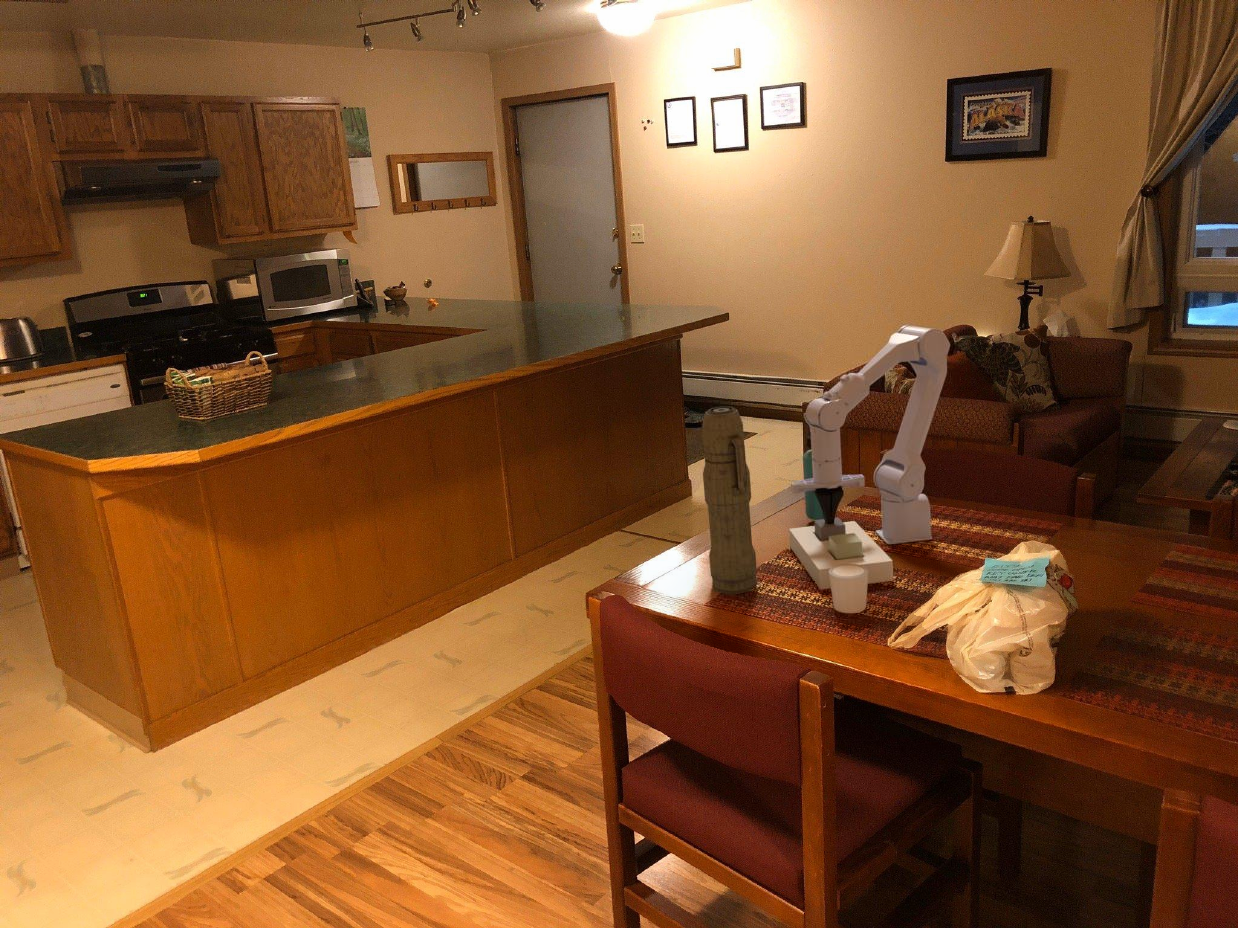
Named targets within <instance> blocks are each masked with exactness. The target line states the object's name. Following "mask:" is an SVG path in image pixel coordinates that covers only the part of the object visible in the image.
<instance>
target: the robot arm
mask: <svg viewBox="0 0 1238 928" xmlns="http://www.w3.org/2000/svg"><path fill="white" fill-rule="evenodd" d="M950 347H951V343H950V341H949V339H948V337H947V336H946V333H944V331H943V330H941V329H939V328H935V327H933V328H929V327H924V326H923V327H921V326H915V325H912V324H906V325H902V326H901V327H900V328H899V329H898V330H897V331H896V332H895V333H892V334H891V335H890V337H889V340H888V342H887V343H886V344H885V346H883V348H881V349H880V351H878V353H877V354H875V355H874V356H873V358H871V359H870V360H869V362H867V363H866V364H865V366H863V368H861V369H860V370H859V372H857V373H854V372H850V373H848V374H843V375H841V376H840V377H839V380H840V381H838V382H837V383H836V384H835V385H834V386H833V387H832V388H830V389H829V390H828V391H825V392H824V393H823V394H822V395H823V396H822V397H818V398H815V399H813V400H811V401H810V402H809V404H807V407H806V410H805V412H804V413H803V419H804V421H805V422H806V423H807V424H808V426H809V433H810V436H811V447H810V448H811V449H812V468H813V478H810V479H806V480H804V479H802V480H797V481H791V482H790V491H791V493H792V494H794V495H795V494H796V495H797V494H799V493H805V492H806V491H813V492H814V494H815V496H816V497H817V499H818V501H819V504H820V506H821V509H822V511H823V515H824V519H825V522H826V523H827V524H834V520H835V518H836V515H837V511H838V507H839V506H840V503H841V501H842V498H843V497H844V494H845V492H844V489H843V488H848V487H856V486H857V487H864V486H865V483H866V482H865V481H866V480H865V476H864V475H863V474H862V473H861V474H843V469H842V450H841V447H842V446H841V444H842V443H841V427H843V426H844V424H845V421H846V418H847V415H848V414H849V413H850V412H851V411H852V409H854V408H855V407H856V406H857V405H859V403H861V402H862V401H863V400H864V399H865V398H867V396H869V394H870V386H872V384H874V383H875V382H876V381H877V380H879V379H880V378H881V377H883V376H884V375H885V374H887V373H888V372H889V371H890V370H892V369H893V368H895V366H897V365H898V364H899V363H903V362H904V363H905V362H908V364H910V365H911V367H912V369H913V370H914V372H915V374H916V377H915V381H914V384H913V386H912V390H911V392H910V396H909V399H908V401H907V406H906V408H905V411H904V415H903V416H902V417H903V418H902V421H901V423H900V427H899V431H898V433H897V436H896V439H895V442H894V446H893V448H891V449H890V450H888V451H886V452H885V453H884V454H883V457H882V460H881V461H880V462H879V464H878V465H877V467H875V470H874V472H873V483H874V485H875V487H877V488H878V489H879V495H880V499H881V500H880V501H881V502H880V503H881V529H877V530H875V533H876V534H877V536H879V538H881V539H882V540H883V541H884V542H885V543H886V544H887V545H896V544H904V543H911V542H912V543H913V542H921V541H929V540H932V539H933V537H932V529H931V528H932V527H931V526H932V525H931V521H932V520H931V519H932V518H931V506H930V505H931V504H930V501H929V499H928V496H927V495H926V494H924V493H922V492H923V490H924V487H925V471H926V468H927V467H926V465H925V463H924V461H923V459H922V456H921V453H922V451H923V447H924V445H925V442H926V439H927V436H928V432H929V430H930V426H931V424H932V421H933V418H934V414H935V411H936V408H937V405H938V401H939V398H940V395H941V393H942V391H943V390H942V389H943V386H944V383H945V380H946V377H947V374H948V364H947V363H948V360H947V359H948V354H949V351H950ZM811 449H810V450H811Z"/></svg>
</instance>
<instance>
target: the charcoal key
mask: <svg viewBox="0 0 1238 928" xmlns="http://www.w3.org/2000/svg"><path fill="white" fill-rule="evenodd" d="M813 522H814V526H815V534H816V536H817V537H818V538H819V539H820V541H827V540H829V536H833V535H842V534H846V530H845V524H844V523H843V521H842V520H841V519H840V517H835V520H834V524H827V523H826V522H825V519H820V520H814V521H813Z"/></svg>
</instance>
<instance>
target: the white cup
mask: <svg viewBox="0 0 1238 928" xmlns="http://www.w3.org/2000/svg"><path fill="white" fill-rule="evenodd" d="M829 577H830V584H831V588H830V590H831V595H832V602H833V603H832V604H833V608H834V610H836V611H837V612H839V613H844V614H856V613H861V612H862V611H864V610H866V608H867V600H868V599H867V597H868V596H867V595H868V584H867V583H868V569H867V568H866V567H864V566H861V565H858V564H841V565H836V566H834V567H831V568H830V569H829Z"/></svg>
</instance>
